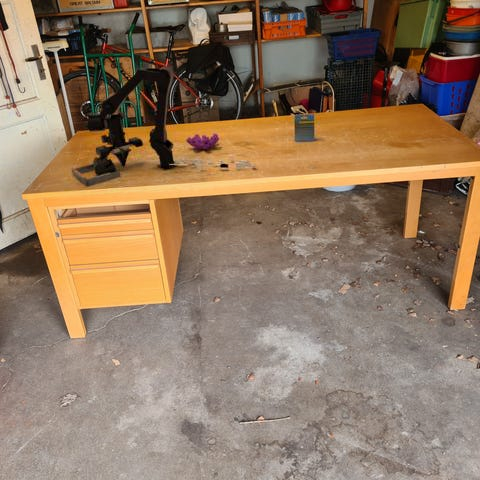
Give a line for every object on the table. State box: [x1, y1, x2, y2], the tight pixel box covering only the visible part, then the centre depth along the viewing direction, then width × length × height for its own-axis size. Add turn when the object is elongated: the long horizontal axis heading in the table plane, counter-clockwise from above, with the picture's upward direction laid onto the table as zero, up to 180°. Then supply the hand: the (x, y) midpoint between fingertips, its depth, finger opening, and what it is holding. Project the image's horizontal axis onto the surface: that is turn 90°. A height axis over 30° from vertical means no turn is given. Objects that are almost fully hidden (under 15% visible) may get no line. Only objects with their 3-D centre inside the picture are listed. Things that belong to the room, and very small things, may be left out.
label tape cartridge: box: [294, 113, 315, 143], centre depth 208 cm, size 9×4×12 cm, turn 84°
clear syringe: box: [169, 154, 257, 173], centre depth 188 cm, size 6×35×12 cm
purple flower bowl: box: [185, 133, 220, 150], centre depth 208 cm, size 11×15×10 cm
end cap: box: [92, 155, 117, 176], centre depth 187 cm, size 10×7×7 cm
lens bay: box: [71, 163, 121, 187], centre depth 188 cm, size 17×14×3 cm
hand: (123, 166), depth 194 cm, fingers closed
